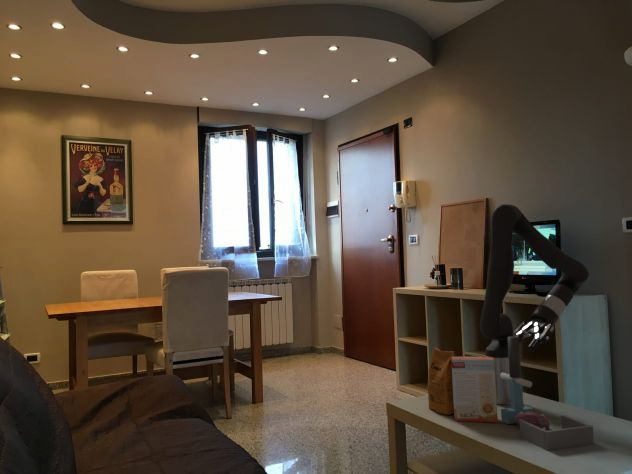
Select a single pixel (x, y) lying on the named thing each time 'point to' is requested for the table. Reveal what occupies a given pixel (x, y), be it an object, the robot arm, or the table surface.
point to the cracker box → (474, 389)
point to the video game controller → (533, 419)
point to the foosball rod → (514, 383)
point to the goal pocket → (558, 434)
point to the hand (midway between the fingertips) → (521, 347)
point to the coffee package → (441, 382)
